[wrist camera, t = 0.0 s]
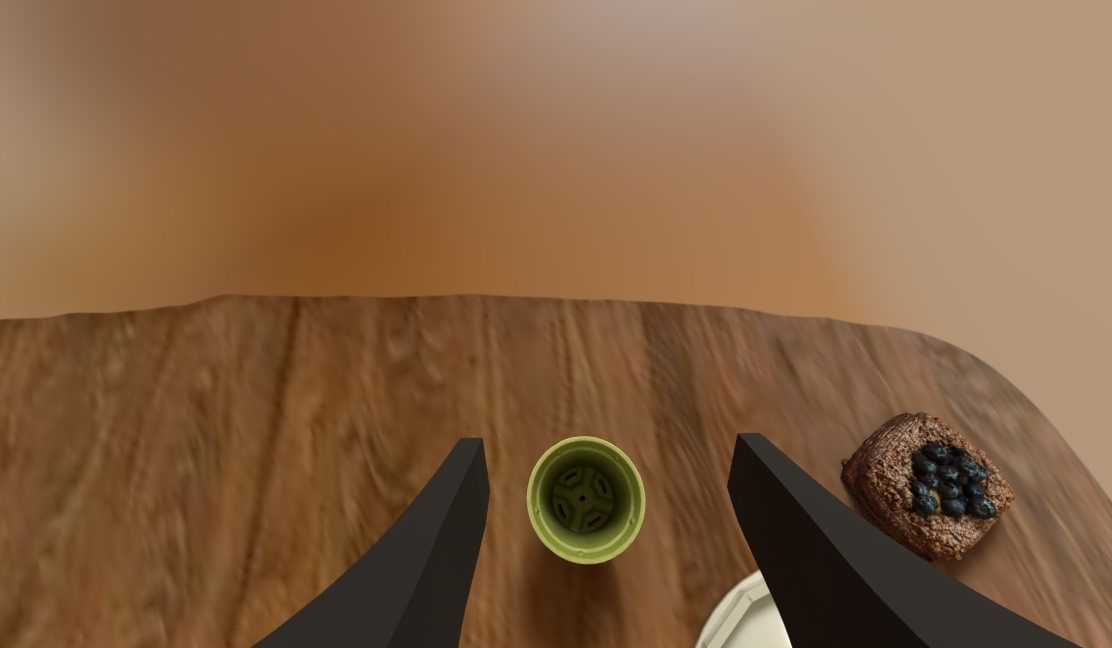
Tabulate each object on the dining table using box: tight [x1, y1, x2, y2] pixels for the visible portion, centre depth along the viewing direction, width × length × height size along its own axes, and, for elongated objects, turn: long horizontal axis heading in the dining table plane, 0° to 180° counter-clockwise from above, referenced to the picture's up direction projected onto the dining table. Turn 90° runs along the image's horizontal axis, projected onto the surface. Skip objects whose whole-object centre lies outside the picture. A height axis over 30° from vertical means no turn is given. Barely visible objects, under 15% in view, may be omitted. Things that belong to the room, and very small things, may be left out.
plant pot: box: [527, 436, 645, 564], centre depth 38 cm, size 9×9×9 cm
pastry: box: [841, 412, 1015, 563], centre depth 39 cm, size 11×12×6 cm
